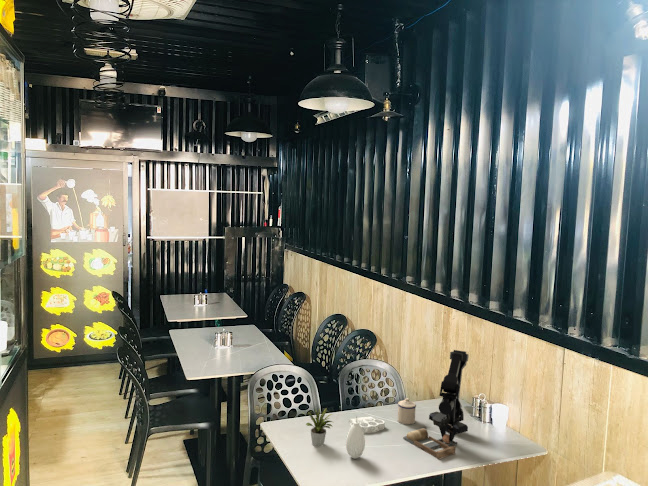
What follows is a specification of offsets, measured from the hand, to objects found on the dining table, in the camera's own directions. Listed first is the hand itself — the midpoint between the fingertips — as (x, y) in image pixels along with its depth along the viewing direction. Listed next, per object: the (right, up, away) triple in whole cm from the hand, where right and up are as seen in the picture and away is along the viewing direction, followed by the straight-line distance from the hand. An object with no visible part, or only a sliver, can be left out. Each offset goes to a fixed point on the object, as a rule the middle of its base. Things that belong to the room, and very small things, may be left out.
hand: (446, 440), depth 236 cm
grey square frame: (0, -1, 0) cm, 1 cm away
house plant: (-60, +1, -8) cm, 61 cm away
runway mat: (-12, -1, -1) cm, 12 cm away
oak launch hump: (-13, -1, +2) cm, 14 cm away
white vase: (-44, -1, -18) cm, 47 cm away
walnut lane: (-7, -1, -7) cm, 10 cm away
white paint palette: (-36, 0, +13) cm, 39 cm away
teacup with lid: (-16, +1, +24) cm, 29 cm away
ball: (0, -1, 0) cm, 1 cm away
